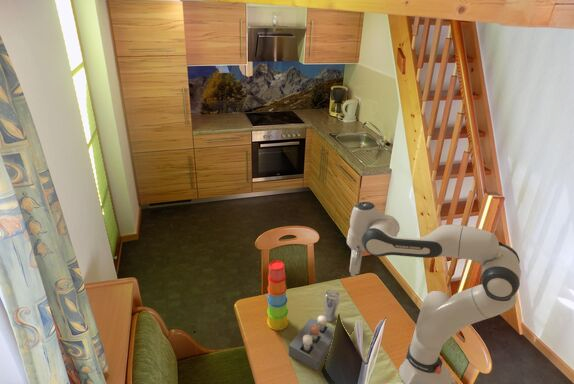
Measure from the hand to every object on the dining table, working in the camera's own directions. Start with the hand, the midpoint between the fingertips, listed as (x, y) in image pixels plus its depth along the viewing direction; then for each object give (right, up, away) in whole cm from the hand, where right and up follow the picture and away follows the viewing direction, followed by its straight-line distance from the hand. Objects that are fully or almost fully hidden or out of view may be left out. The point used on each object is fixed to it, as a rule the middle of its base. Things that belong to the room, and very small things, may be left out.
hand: (353, 267), depth 155 cm
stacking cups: (-31, -32, +28) cm, 53 cm away
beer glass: (-6, -31, +32) cm, 45 cm away
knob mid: (-15, -34, +13) cm, 39 cm away
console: (-15, -39, +16) cm, 45 cm away
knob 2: (-12, -31, +18) cm, 38 cm away
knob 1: (-19, -36, +8) cm, 42 cm away
